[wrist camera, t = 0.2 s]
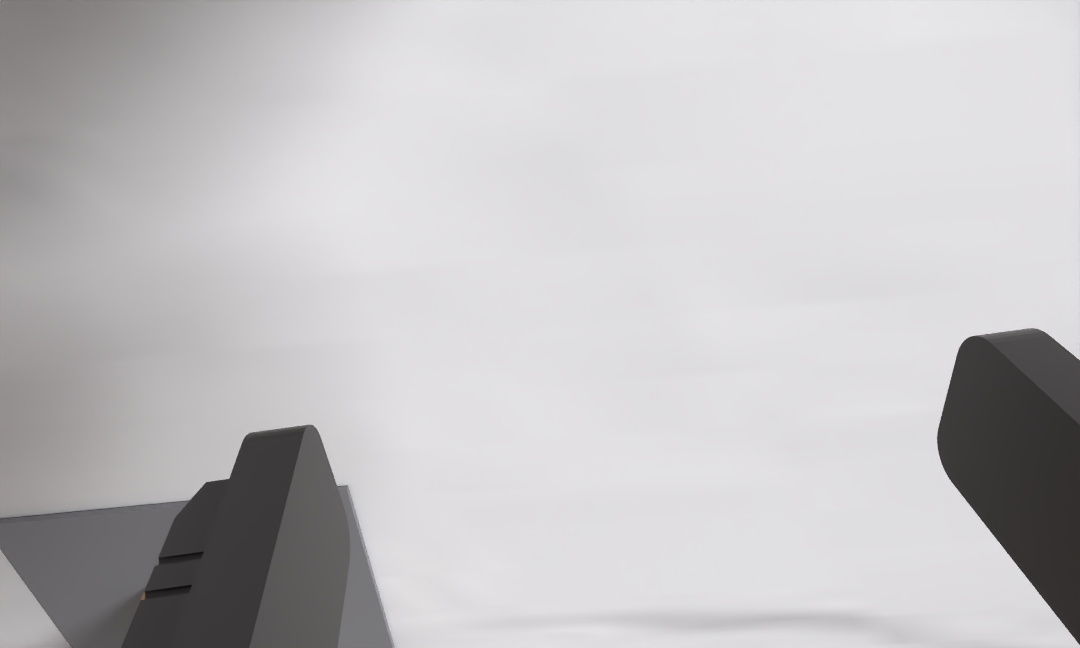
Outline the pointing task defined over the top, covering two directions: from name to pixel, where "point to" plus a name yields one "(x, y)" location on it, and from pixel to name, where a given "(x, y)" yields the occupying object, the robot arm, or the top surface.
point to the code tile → (144, 571)
